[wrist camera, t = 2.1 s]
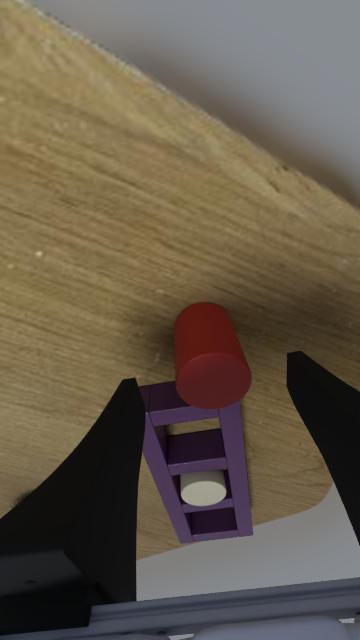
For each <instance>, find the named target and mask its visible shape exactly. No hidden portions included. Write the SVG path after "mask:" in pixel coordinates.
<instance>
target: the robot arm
mask: <svg viewBox="0 0 360 640" xmlns="http://www.w3.org/2000/svg"><path fill="white" fill-rule="evenodd" d="M287 388H288V391H289V393H290V396H291V398H292V400H293V403H294V405H295V407H296V409H297V411H298V413H299V415H300V416H301V418H302V420H303V422H304V424H305V425H306V427H307V429H308V431H309V432H310V434H311V436H312V438H313V440H314V441H315V443H316V445H317V447H318V449H319V450H320V452H321V454H322V456H323V458H324V460H325V463H326V465H327V467H328V469H329V472H330V474H331V476H332V478H333V481H334V483H335V485H336V487H337V490H338V492H339V495H340V497H341V500H342V502H343V504H344V507H345V509H346V511H347V514H348V517H349V519H350V522H351V524H352V526H353V529H354V532H355V534H356V537H357V540H358V542H359V545H360V392H359V391H358V390H356V389H354V388H353V387H351V386H349V385H348V384H346V383H345V382H343V381H342V380H340V379H339V378H337V377H336V376H335V375H333V374H332V373H330V372H329V371H327V370H326V369H325V368H323V367H322V366H321V365H319V364H318V363H316V362H315V361H314V360H312V359H311V358H310V357H308V356H307V355H306V354H304V353H303V352H302V351H297V352H291V353H287ZM145 423H146V407H145V404H144V401H143V398H142V396H141V393H140V390H139V387H138V384H137V382H136V379H135V378H130V379H124V380H122V381H121V383H120V385H119V386H118V388H117V390H116V391H115V393H114V395H113V396H112V398H111V399H110V401H109V403H108V404H107V406H106V407H105V409H104V410H103V412H102V413H101V415H100V416H99V418H98V419H97V421H96V422H95V423H94V425H93V426H92V428H91V429H90V430H89V432H88V433H87V434H86V436H85V437H84V438H83V440H82V441H81V442H80V443H79V445H78V446H77V447H76V448H75V449H74V450H73V452H72V453H71V454H70V455H69V456H68V457H67V458H66V459H65V460H64V461H63V462H62V464H61V465H60V466H59V467H58V468H57V469H56V470H55V471H54V472H53V473H52V474H51V475H50V476H49V477H48V478H47V479H46V480H45V481H44V482H43V483H42V484H41V485H39V486H38V487H37V488H36V489H35V490H34V491H33V492H32V493H31V494H29V495H28V496H27V497H26V498H25V499H24V500H23V501H21V502H20V503H19V504H18V505H17V506H15V507H14V508H13V509H12V510H10V511H9V512H8V513H7V514H6V515H4V516H3V517H2V518H1V519H0V640H170V638H169V637H168V636H173V635H183V634H193V633H194V635H193V637H191V638H186V639H181V640H360V577H359V578H351V579H341V580H331V581H322V582H314V583H303V584H294V585H285V586H275V587H266V588H257V589H247V590H238V591H228V592H219V593H210V594H200V595H191V596H181V597H172V598H163V599H153V600H144V601H136V528H137V497H138V480H139V471H140V464H141V457H142V450H143V442H144V435H145ZM348 618H355V620H354V622H355V623H342V622H341V621H339V620H338V619H348Z"/></svg>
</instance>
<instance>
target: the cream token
mask: <svg viewBox="0 0 360 640" xmlns="http://www.w3.org/2000/svg"><path fill="white" fill-rule="evenodd" d="M180 480H181V497H182V499H183V500H184V501H185V502H187V503H189V504H191V505H196V506H207V505H212V504H215V503H218V502H219V501H221V500H222V499H223V498H224V497H225V495H226V486H225V480H224V474H223V469H217V470H209V471H202V472H194V473H187V474H180Z"/></svg>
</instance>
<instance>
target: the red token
mask: <svg viewBox="0 0 360 640" xmlns="http://www.w3.org/2000/svg"><path fill="white" fill-rule="evenodd" d="M174 331H175V385H176V389H177V392H178V394H179V396H180V397H181V398H182V399H183V400H184V401H185V402H186V403H188V404H190V405H191V406H194V407H196V408H200V409H208V410H213V409H221V408H225V407H228V406H230V405H232V404H234V403H236V402H238V401H239V400H240V399H241V398H242V397H243V396H244V395H245V394H246V393H247V391H248V390H249V388H250V385H251V377H252V376H251V372H250V369H249V366H248V363H247V361H246V358H245V356H244V353H243V350H242V348H241V345H240V342H239V340H238V337H237V334H236V332H235V329H234V327H233V324H232V321H231V319H230V316H229V315H228V313H227V312H226V311H225V310H224V309H223V308H221V307H220V306H218V305H215V304H212V303H197V304H194V305H191V306H189V307H187V308H186V309H185V310H183V311H182V312H181V313H180V314H179V316H178V317H177V319H176V322H175V327H174Z"/></svg>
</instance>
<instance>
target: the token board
mask: <svg viewBox="0 0 360 640" xmlns="http://www.w3.org/2000/svg"><path fill="white" fill-rule="evenodd" d="M139 390H140V393H141V396H142V398H143V401H144V404H145V407H146V423H145V435H144V442H143V450H142V452H143V454H144V457H145V459H146V461H147V464H148V466H149V469H150V471H151V474H152V476H153V478H154V481H155V483H156V486H157V488H158V491H159V493H160V495H161V498H162V500H163V503H164V505H165V508H166V510H167V512H168V515H169V517H170V520H171V522H172V525H173V527H174V529H175V532H176V534H177V537H178V539H179V541H180V543H190V542H198V541H207V540H215V539H224V538H233V537H238V536H239V537H243V536H251V535H253V529H252V518H251V509H250V499H249V489H248V479H247V469H246V459H245V449H244V440H243V430H242V420H241V410H240V400H239V401H238V402H236V403H234V404H232V405H230V406H228V407H225V408H221V409H213V410H208V409H200V408H196V407H194V406H191V405H190V404H188V403H186V402H185V401H184V400H183V399H182V398H181V397H180V396H179V394H178V392H177V389H176V385H175V382H169V383H163V384H157V385H152V386H144V387H139ZM215 417H219V421H220V427H221V430H220V429H218V430H211V431H205V432H198V433H191V434H184V435H177V436H170V437H167V434H166V431H165V428H164V425H168V424H174V423H181V422H188V421H195V420H202V419H208V418H215ZM224 468H227V470H228V471H227V470H223V474H224V480H225V486H226V495H225V497H224V498H223V499H222V500H221V501H219V502H218V503H215V504H212V505H207V506H196V505H191V504H189V503H187V502H185V501H184V500H183V499H182V497H181V480H180V474H187V473H194V472H202V471H209V470H217V469H224Z"/></svg>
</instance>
